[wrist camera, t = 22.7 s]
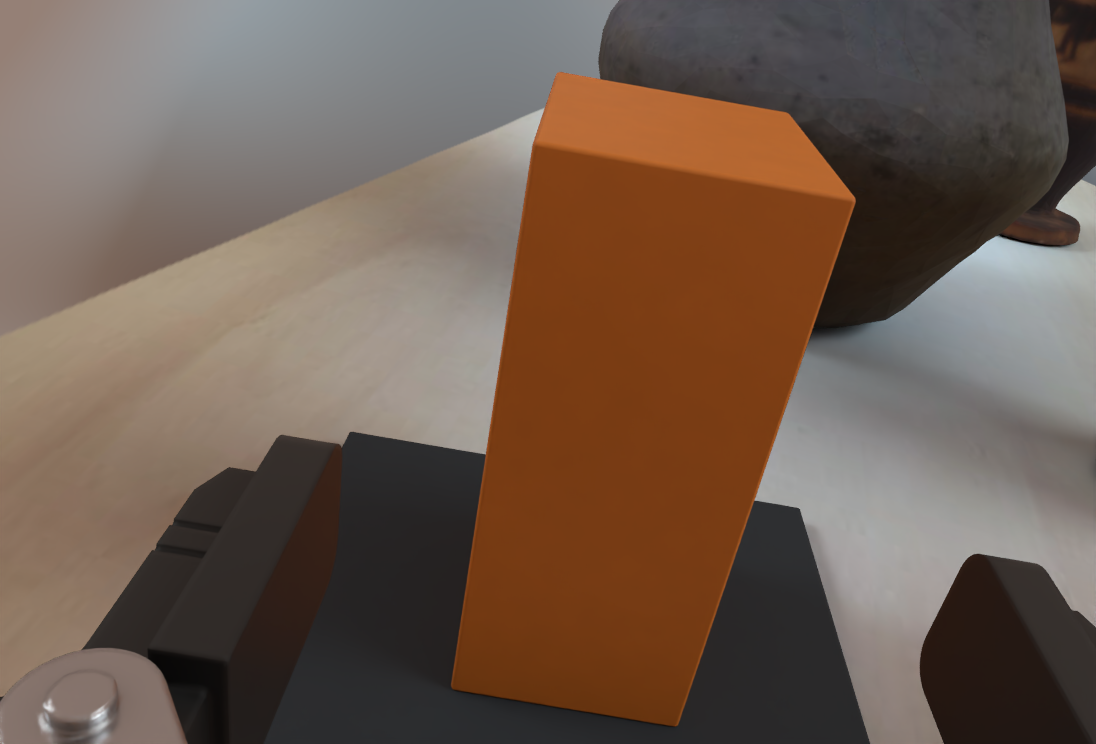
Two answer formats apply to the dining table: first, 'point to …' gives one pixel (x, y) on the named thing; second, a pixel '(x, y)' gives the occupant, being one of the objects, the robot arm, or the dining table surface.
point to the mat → (521, 727)
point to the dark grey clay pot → (877, 115)
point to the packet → (639, 389)
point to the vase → (1068, 122)
